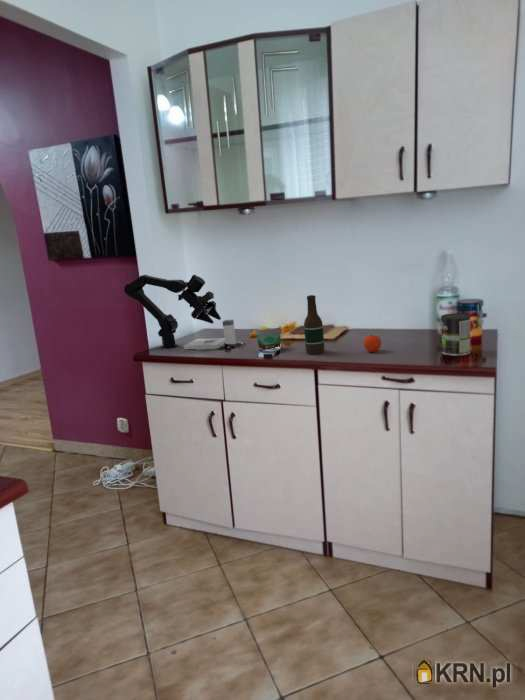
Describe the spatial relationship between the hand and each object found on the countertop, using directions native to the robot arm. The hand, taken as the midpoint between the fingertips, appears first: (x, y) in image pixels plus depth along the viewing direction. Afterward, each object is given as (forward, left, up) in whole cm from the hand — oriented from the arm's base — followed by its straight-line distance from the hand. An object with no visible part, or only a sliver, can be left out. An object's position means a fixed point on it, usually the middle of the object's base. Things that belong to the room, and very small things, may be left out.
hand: (216, 321), depth 250 cm
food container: (+33, 0, -12) cm, 35 cm away
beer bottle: (+54, +4, -12) cm, 56 cm away
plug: (+5, +2, -12) cm, 13 cm away
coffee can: (+106, +23, -12) cm, 110 cm away
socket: (-6, -3, -12) cm, 14 cm away
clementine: (+76, +14, -12) cm, 79 cm away
